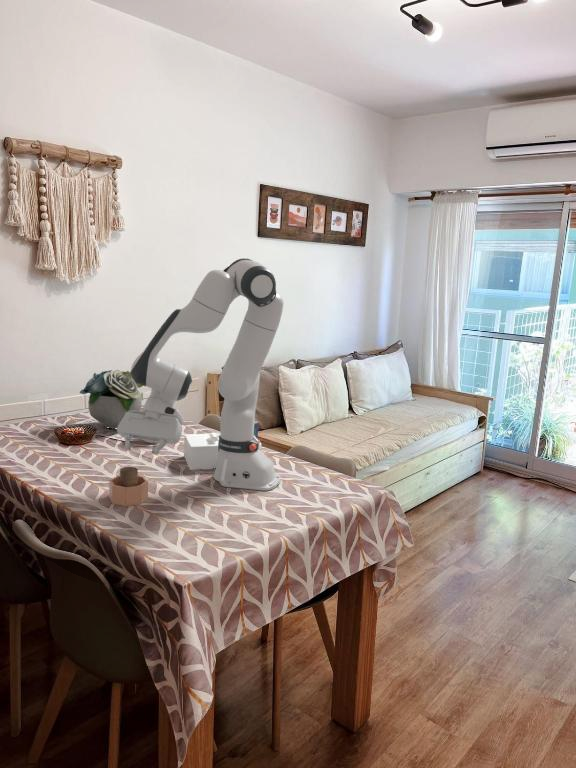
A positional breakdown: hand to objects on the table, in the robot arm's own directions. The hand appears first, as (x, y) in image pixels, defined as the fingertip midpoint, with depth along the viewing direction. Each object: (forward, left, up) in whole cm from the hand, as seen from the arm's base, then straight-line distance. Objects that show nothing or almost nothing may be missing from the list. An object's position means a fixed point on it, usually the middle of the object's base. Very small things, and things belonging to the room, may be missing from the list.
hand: (140, 451), depth 177 cm
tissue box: (-11, -37, -13) cm, 41 cm away
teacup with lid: (+20, -47, -13) cm, 53 cm away
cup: (0, +6, -13) cm, 14 cm away
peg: (0, +6, -12) cm, 13 cm away
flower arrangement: (+44, -56, -13) cm, 73 cm away
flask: (-14, -60, -13) cm, 63 cm away
